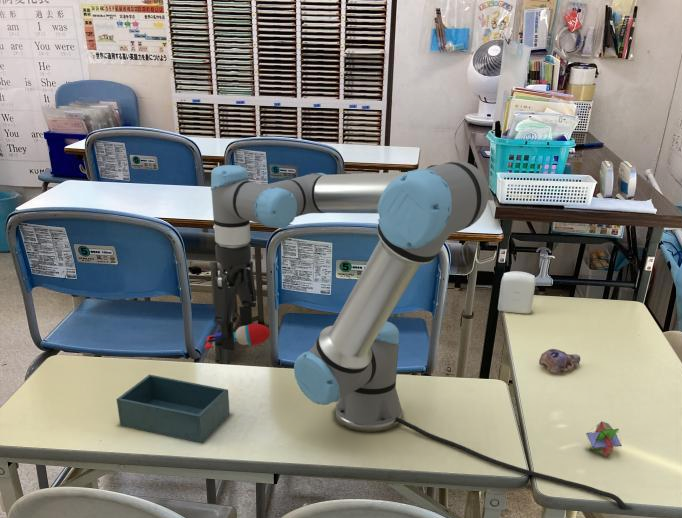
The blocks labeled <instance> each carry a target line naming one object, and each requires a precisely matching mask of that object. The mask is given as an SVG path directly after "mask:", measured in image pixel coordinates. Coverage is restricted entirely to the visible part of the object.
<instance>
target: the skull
mask: <svg viewBox="0 0 682 518" xmlns="http://www.w3.org/2000/svg"><path fill="white" fill-rule="evenodd" d="M580 362H581V355H579V354H576V353H573V354H569V353H566V351H563V350H560V349H555V348H550V349H548V350H546V351H544V352H542V353H541V355H540V357H539V360H538V364H539V365H540V366H542V367H543V368H545V369H547V370H548V371H550V372H551V373H552V374H555V375H557V374H558V375H559V374H563V373H565V372H567V371H570V372H571V371H572V370H574V369H576V368H577V366H578V367H579V366H580V365H581V363H580Z"/></svg>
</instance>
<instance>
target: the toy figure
mask: <svg viewBox="0 0 682 518" xmlns="http://www.w3.org/2000/svg"><path fill="white" fill-rule="evenodd" d="M270 336H271V330H270V329H269V327H267V326H266V325H264V324H260V323H252V324H249V325H246V326H241V327H240V326H239V327H238V328H237V329H236V331H234V343H236V342H237V343H238V344H240V345H242V346H246V345H248V346H254V347H255V346H257V345H260V344H264V342H266V341H267V340H268V339H269V338H270ZM205 340H206V343H205V345H204V349H205V350H209V349H210V350H211V349H213V348H215V347H222V338H221V331H220V332H215V334H213V335H212V334H211V335H209V336H207V338H206V339H205ZM213 342H215V343H214V345H213V344H211V343H213Z"/></svg>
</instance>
